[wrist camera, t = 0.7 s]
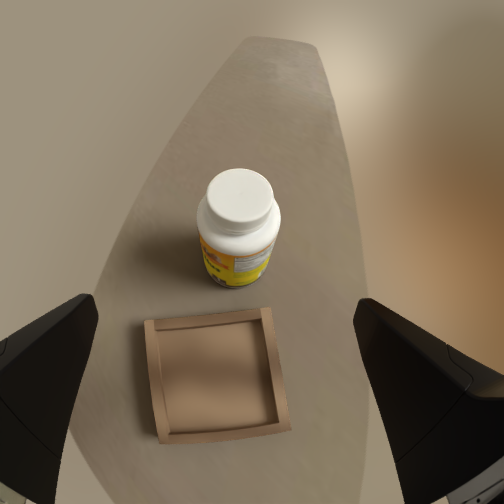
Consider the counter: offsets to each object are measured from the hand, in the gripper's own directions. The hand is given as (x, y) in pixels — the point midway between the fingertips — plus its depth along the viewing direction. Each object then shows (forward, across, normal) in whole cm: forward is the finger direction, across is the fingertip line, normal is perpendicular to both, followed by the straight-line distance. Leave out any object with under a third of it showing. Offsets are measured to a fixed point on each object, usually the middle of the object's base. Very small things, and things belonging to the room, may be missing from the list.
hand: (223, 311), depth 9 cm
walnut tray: (+7, +1, +13) cm, 15 cm away
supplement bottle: (+16, -1, +6) cm, 17 cm away
